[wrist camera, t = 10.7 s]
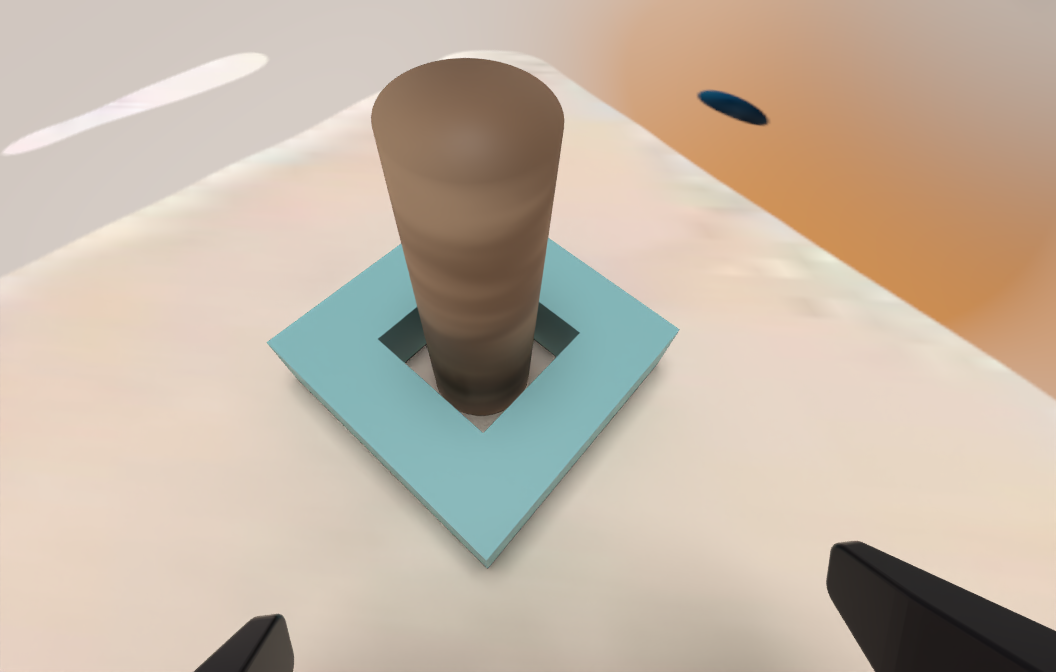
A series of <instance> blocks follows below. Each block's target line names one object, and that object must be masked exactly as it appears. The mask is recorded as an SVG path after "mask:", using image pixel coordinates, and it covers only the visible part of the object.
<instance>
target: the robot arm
mask: <svg viewBox="0 0 1056 672" xmlns="http://www.w3.org/2000/svg"><path fill="white" fill-rule="evenodd" d="M826 584H827V590H828V593H829V596H830V598H831V600H832V601H833V603H834V605H835V606H836V608H837V610H838V611H839V613H840V615H841V616H842V618H843V620H844V621H845V623H846V625H847V626H848V628H849V630H850V631H851V633H852V635H853V636H854V638H855V639H856V641H857V643H858V644H859V646H860V648H861V649H862V651H863V653H864V654H865V656H866V658H867V659H868V661H869V663H870V664H871V666H872V668H873V669H874V671H875V672H1056V631H1054V630H1052V629H1050V628H1048V627H1046V626H1044V625H1041V624H1039V623H1037V622H1035V621H1033V620H1031V619H1028V618H1026V617H1024V616H1022V615H1020V614H1017V613H1015V612H1013V611H1011V610H1009V609H1007V608H1004V607H1002V606H1000V605H998V604H996V603H993V602H991V601H989V600H987V599H985V598H983V597H980V596H978V595H976V594H974V593H972V592H970V591H967V590H965V589H963V588H961V587H959V586H956V585H954V584H952V583H950V582H948V581H946V580H943V579H941V578H939V577H937V576H935V575H932V574H930V573H928V572H926V571H924V570H922V569H919V568H917V567H915V566H913V565H911V564H909V563H906V562H904V561H902V560H900V559H898V558H895V557H893V556H891V555H889V554H887V553H885V552H882V551H880V550H878V549H876V548H874V547H872V546H869V545H867V544H865V543H863V542H860V541H849V542H841V543H836V544H834V545H833V547H832V548H831V551H830V558H829V566H828V573H827V580H826ZM293 668H294V653H293V649H292V645H291V641H290V637H289V633H288V629H287V625H286V621H285V619H284V617H283V616H282V615H281V614H272V615H264V616H257V617H254V618H253V619H251V620H250V621H248V622H247V623H246V624H245V625H244V626H243V627H242V628H241V629H240V630H239V631H237V632H236V633H235V634H234V635H233V636H232V637H231V638H230V639H229V640H228V641H226V642H225V643H224V644H223V645H222V646H221V647H220V648H219V649H218V650H217V651H216V652H214V653H213V654H212V655H211V656H210V657H209V658H208V659H207V660H206V661H205V662H204V663H202V664H201V665H200V666H199V667H198V668H197V669H196V670H195V671H194V672H293Z"/></svg>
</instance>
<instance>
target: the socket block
mask: <svg viewBox="0 0 1056 672" xmlns="http://www.w3.org/2000/svg"><path fill="white" fill-rule="evenodd" d="M678 331H679V329H678V328H677V327H675V326H674V325H672V324H671V323H669V322H668V321H667V320H665V319H664V318H662V317H661V316H659V315H658V314H657V313H655V312H654V311H652V310H651V309H649V308H648V307H646V306H645V305H644V304H642V303H641V302H639V301H638V300H636V299H635V298H634V297H632V296H631V295H629V294H628V293H626V292H625V291H624V290H622V289H621V288H619V287H618V286H616V285H615V284H614V283H612V282H611V281H609V280H608V279H606V278H605V277H604V276H602V275H601V274H599V273H598V272H596V271H595V270H594V269H592V268H591V267H589V266H588V265H586V264H585V263H584V262H582V261H581V260H579V259H578V258H576V257H575V256H573V255H572V254H571V253H569V252H568V251H566V250H565V249H563V248H562V247H561V246H559V245H558V244H556V243H555V242H553V241H552V240H551V239H549V238H548V242H547V249H546V256H545V263H544V270H543V277H542V284H541V291H540V298H539V305H538V312H537V319H536V326H535V333H534V339H535V340H536V341H537V342H539V343H540V344H541V345H542V346H544V347H545V348H546V349H547V350H549V351H550V352H551V353H553V354H554V355H555V356H556V358H555V359H554V360H553V361H552V362H551V363H550V365H549V366H548V367H547V368H546V369H545V370H544V371H543V372H542V373H541V374H540V375H539V376H538V377H537V378H536V379H535V380H534V381H533V382H532V383H531V384H530V385H529V386H528V387H527V388H526V389H525V390H524V391H523V392H522V394H521V395H520V396H519V397H518V398H517V399H516V400H515V401H514V402H513V403H512V404H511V405H510V406H509V407H508V408H507V409H506V410H505V411H504V412H503V413H502V414H501V415H500V416H499V417H498V418H497V419H496V420H495V422H494V423H493V424H492V425H491V426H490V427H489V428H488V429H487V430H486V431H485V432H484V433H482V432H481V431H480V430H479V429H478V428H477V427H476V426H474V425H473V424H472V423H471V422H470V421H469V420H468V419H467V418H465V417H464V416H463V415H462V414H461V413H460V412H459V411H458V410H457V409H455V408H454V407H453V406H452V405H451V404H450V403H449V402H448V401H446V400H445V399H444V398H443V397H442V396H441V395H440V394H439V393H437V392H436V391H435V390H434V389H433V388H432V387H431V386H430V385H429V384H427V383H426V382H425V381H424V380H423V379H422V378H421V377H420V376H418V375H417V374H416V373H415V372H414V371H413V370H412V369H411V368H409V367H408V366H407V365H406V364H405V362H406V361H407V360H408V359H409V358H411V357H412V356H413V355H414V354H415V353H416V352H418V351H419V350H420V349H421V348H422V347H423V346H424V345H426V344H427V343H426V340H425V336H424V332H423V328H422V324H421V320H420V316H419V312H418V308H417V304H416V300H415V296H414V292H413V288H412V284H411V280H410V276H409V272H408V268H407V264H406V260H405V256H404V252H403V248H402V244H400V245H399V246H397V247H396V248H395V249H393V250H392V251H390V252H389V253H388V254H386V255H385V256H384V257H382V258H381V259H380V260H378V261H377V262H375V263H374V264H373V265H371V266H370V267H369V268H367V269H366V270H365V271H363V272H362V273H360V274H359V275H358V276H356V277H355V278H354V279H352V280H351V281H350V282H348V283H347V284H346V285H344V286H343V287H341V288H340V289H339V290H337V291H336V292H335V293H333V294H332V295H331V296H329V297H328V298H326V299H325V300H324V301H322V302H321V303H320V304H318V305H317V306H316V307H314V308H313V309H311V310H310V311H309V312H307V313H306V314H305V315H303V316H302V317H301V318H299V319H298V320H297V321H295V322H294V323H292V324H291V325H290V326H288V327H287V328H286V329H284V330H283V331H282V332H280V333H279V334H277V335H276V336H275V337H273V338H272V339H271V340H269V341H268V342H267V344H268V345H269V346H270V347H271V348H272V349H273V351H274V352H275V353H276V354H277V355H278V357H279V358H280V359H281V360H282V361H283V363H284V364H285V365H286V366H287V367H288V369H289V370H290V371H291V372H292V373H293V375H294V376H295V377H296V378H297V379H298V380H299V381H300V382H301V383H302V384H303V385H304V386H305V387H306V388H307V389H308V390H309V391H310V392H311V393H312V394H313V395H314V396H315V397H316V398H317V399H318V400H319V401H320V402H321V403H322V404H323V405H324V406H325V407H326V408H327V409H328V410H329V411H330V412H331V413H332V414H333V415H334V416H335V417H336V418H337V419H338V420H339V421H340V422H341V423H342V424H343V425H344V426H345V427H346V428H347V429H348V430H349V431H350V432H351V433H352V434H353V435H354V436H355V437H356V438H357V439H358V440H359V441H360V442H361V443H362V444H363V445H364V446H365V447H366V448H367V449H368V450H369V451H370V452H371V453H372V454H373V455H374V456H375V457H376V458H377V459H378V460H379V461H380V462H381V463H382V464H383V465H384V466H385V467H386V468H387V469H388V470H389V471H390V472H391V473H392V474H393V475H394V476H395V477H396V478H397V479H398V480H399V481H400V482H401V483H402V484H403V485H404V486H405V487H406V488H407V489H408V490H409V491H410V492H411V493H412V494H413V495H414V496H415V497H416V498H417V499H418V500H419V501H420V502H421V503H422V504H423V505H424V506H425V507H426V508H427V509H428V510H429V511H430V512H431V513H432V514H433V515H434V516H435V517H436V518H437V519H438V520H439V521H440V522H441V523H442V524H443V525H444V526H445V527H446V528H447V529H448V530H449V531H450V532H451V533H452V534H453V535H454V536H455V537H456V538H457V539H458V540H459V541H460V542H461V543H462V544H463V545H464V546H465V547H466V548H467V549H468V550H469V551H470V552H471V553H472V554H473V555H474V556H475V557H476V558H477V559H478V560H479V561H480V562H481V563H482V564H483V565H484V566H485V567H486V568H487V569H488V568H489V566H490V565H491V564H492V563H493V562H494V560H495V559H496V558H497V557H498V556H499V554H500V553H501V552H502V551H503V549H504V548H505V547H506V546H507V545H508V543H509V542H510V541H511V540H512V539H513V537H514V536H515V535H516V534H517V533H518V531H519V530H520V529H521V528H522V527H523V525H524V524H525V523H526V522H527V521H528V519H529V518H530V517H531V516H532V514H533V513H534V512H535V511H536V510H537V508H538V507H539V506H540V505H541V504H542V502H543V501H544V500H545V499H546V498H547V496H548V495H549V494H550V493H551V492H552V490H553V489H554V488H555V487H556V486H557V484H558V483H559V482H560V481H561V479H562V478H563V477H564V476H565V475H566V473H567V472H568V471H569V470H570V469H571V467H572V466H573V465H574V464H575V463H576V461H577V460H578V459H579V458H580V457H581V455H582V454H583V453H584V452H585V451H586V449H587V448H588V447H589V446H590V444H591V443H592V442H593V441H594V440H595V438H596V437H597V436H598V435H599V434H600V432H601V431H602V430H603V429H604V428H605V426H606V425H607V424H608V423H609V422H610V420H611V419H612V418H613V417H614V416H615V414H616V413H617V412H618V411H619V409H620V408H621V407H622V406H623V405H624V403H625V402H626V401H627V400H628V399H629V397H630V396H631V395H632V394H633V393H634V391H635V390H636V389H637V388H638V387H639V385H640V384H641V383H642V382H643V381H644V379H645V378H646V377H647V376H648V374H649V373H650V372H651V371H652V370H653V368H654V367H655V366H656V365H657V364H658V362H659V361H660V359H661V357H662V356H663V354H664V353H665V351H666V350H667V348H668V347H669V345H670V344H671V342H672V341H673V339H674V338H675V336H676V334H677V333H678Z"/></svg>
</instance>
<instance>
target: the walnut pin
mask: <svg viewBox="0 0 1056 672" xmlns="http://www.w3.org/2000/svg"><path fill="white" fill-rule="evenodd" d="M371 123H372V129H373V133H374V137H375V141H376V145H377V149H378V153H379V157H380V160H381V164H382V168H383V172H384V176H385V180H386V184H387V188H388V192H389V196H390V200H391V204H392V208H393V212H394V216H395V220H396V224H397V228H398V232H399V236H400V240H401V244H402V248H403V252H404V256H405V260H406V264H407V268H408V272H409V276H410V280H411V284H412V288H413V292H414V296H415V300H416V304H417V308H418V312H419V316H420V320H421V324H422V328H423V332H424V336H425V340H426V343H427V347H428V351H429V355H430V359H431V363H432V367H433V371H434V375H435V379H436V383H437V387H438V389H439V392H440V393H441V395H442V396H443V398H444V399H445V400H446V401H448V402H449V403H450V404H451V405H452V406H453V407H454V408H456V409H457V410H459V411H462V412H464V413H467V414H472V415H490V414H495V413H498V412H500V411H503V410H505V409H507V408H508V407H509V406H510V405H511V404H512V403H513V402H514V401H515V400H516V399H517V398H518V397H519V396H520V395H521V394H522V392H523V391H524V390H525V387H526V385H527V381H528V375H529V368H530V361H531V354H532V347H533V340H534V333H535V326H536V319H537V312H538V305H539V298H540V291H541V284H542V277H543V270H544V263H545V256H546V249H547V242H548V235H549V228H550V221H551V214H552V207H553V200H554V193H555V186H556V179H557V172H558V165H559V158H560V151H561V144H562V137H563V130H564V114H563V110H562V107H561V105H560V103H559V101H558V99H557V97H556V96H555V95H554V93H553V92H552V91H551V90H550V89H549V88H548V87H547V86H546V85H545V84H544V83H543V82H542V81H540V80H539V79H538V78H536V77H534V76H533V75H531V74H530V73H528V72H526V71H523V70H521V69H519V68H517V67H514V66H511V65H508V64H505V63H501V62H497V61H491V60H485V59H476V58H457V59H446V60H440V61H435V62H430V63H427V64H424V65H421V66H418V67H416V68H413V69H411V70H409V71H407V72H405V73H403V74H401V75H400V76H398V77H397V78H395V79H394V80H393V81H391V82H390V83H389V84H388V85H387V86H386V87H385V88H384V89H383V90H382V91H381V93H380V94H379V96H378V97H377V99H376V101H375V103H374V106H373V109H372V115H371Z"/></svg>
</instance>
